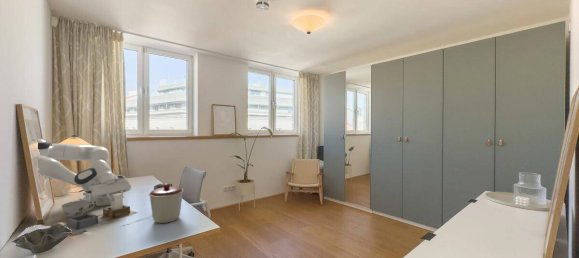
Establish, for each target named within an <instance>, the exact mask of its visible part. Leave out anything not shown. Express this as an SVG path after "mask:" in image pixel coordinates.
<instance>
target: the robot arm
mask: <svg viewBox="0 0 579 258" xmlns="http://www.w3.org/2000/svg"><path fill="white" fill-rule="evenodd" d="M37 138H38V137H37ZM37 142H38V149H39V152H40V155H38V168H39V173H40V175H41V176H40V175H39V176H40V177H45V178H50V179H53V180H57V181H62V182H65V183H68V184H70V185H73V186H76V187H79V188H81V189H83V190H84V191H83V193H82V195H83V196H81V197H79V200H85V201H89V203H91V202H94V203H96V199H97V198H102V197H106V198H107V199H109V200H110V202H111V201H114V198H113V197H110V195H111V194H115V193H121V194H123V199H124V196H125V195H124V193H126V192H129V191H131V188H132V185H131V182H129V180H128V179H126V176H125V175H121V174H119V175H117V174H114V173H113V172H112V171H113V170H112V167H111V166H110V164H111V163H110V160H111V159H110V158H111V157H110V156H111V155H110V151H109V149H107V147H105V146H100V145H87V144H86V145H85V144H83V145H82V144H71V143H51V142H50V141H48V140H46V139H44V138H38V141H37ZM59 160H60V161H62V160H63V161H76V162H77V161H78V162H80V161H90V162H89V166H88V167H86V168H85V169H84V170H81V171H79V172H77V173H75V172H74V171H71V170H70V169H68V168H67V167H66V166H65V165H64V164H63V163H62V162H60V161H59Z"/></svg>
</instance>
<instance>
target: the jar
mask: <svg viewBox="0 0 579 258" xmlns="http://www.w3.org/2000/svg"><path fill="white" fill-rule="evenodd" d="M110 197H111V195H110ZM95 205H96V206H99V207H105V206H111V202H110V200H109V199H107V198H106V197H102V198H97V199H96V202H95Z"/></svg>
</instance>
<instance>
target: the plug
mask: <svg viewBox="0 0 579 258" xmlns="http://www.w3.org/2000/svg"><path fill="white" fill-rule="evenodd" d="M123 196H124V193H123V194H121V193H115V194H111V197H113V198H114V201H111V205H110V207H111V210H118V209H121V208H123V205H124V203H123V201H124V198H123Z"/></svg>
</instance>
